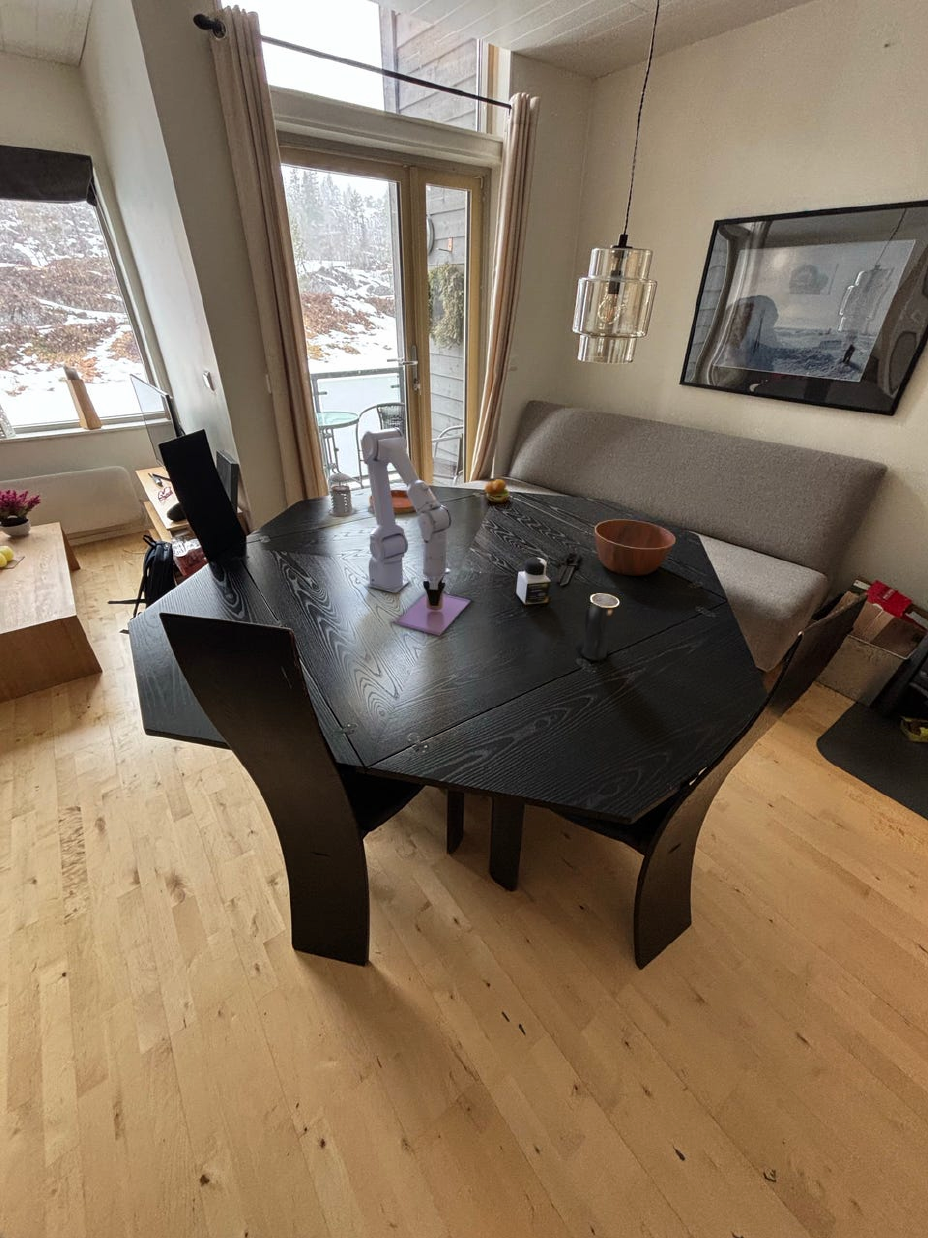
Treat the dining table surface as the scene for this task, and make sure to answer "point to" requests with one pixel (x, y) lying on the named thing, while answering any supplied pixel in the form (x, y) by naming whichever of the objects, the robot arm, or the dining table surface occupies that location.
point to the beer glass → (599, 625)
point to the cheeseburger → (497, 491)
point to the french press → (336, 492)
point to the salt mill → (435, 606)
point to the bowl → (632, 546)
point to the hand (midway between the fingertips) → (434, 600)
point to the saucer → (399, 501)
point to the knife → (570, 568)
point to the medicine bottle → (533, 582)
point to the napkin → (433, 615)
